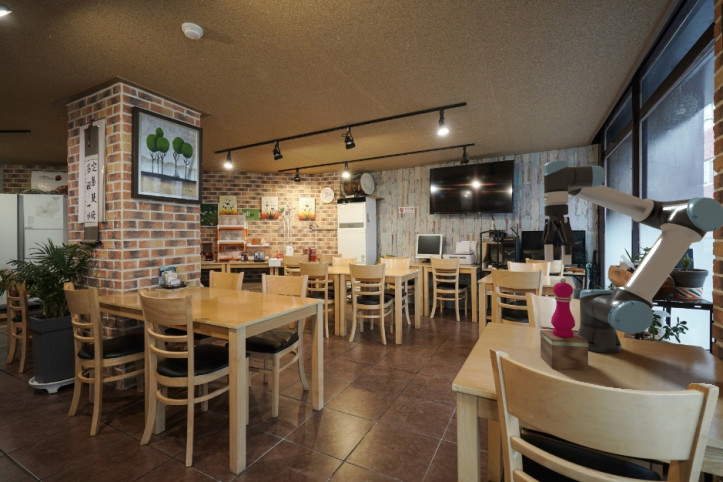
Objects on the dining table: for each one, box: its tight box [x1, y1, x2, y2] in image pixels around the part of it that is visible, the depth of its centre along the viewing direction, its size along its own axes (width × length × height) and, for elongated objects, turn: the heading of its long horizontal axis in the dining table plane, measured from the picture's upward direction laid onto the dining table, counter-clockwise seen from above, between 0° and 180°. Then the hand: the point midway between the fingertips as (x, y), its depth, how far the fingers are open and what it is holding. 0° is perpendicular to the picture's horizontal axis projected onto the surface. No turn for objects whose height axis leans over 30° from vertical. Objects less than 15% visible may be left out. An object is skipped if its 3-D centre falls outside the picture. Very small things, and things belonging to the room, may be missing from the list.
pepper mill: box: [550, 277, 576, 338], centre depth 116 cm, size 7×7×20 cm
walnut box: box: [539, 329, 589, 372], centre depth 116 cm, size 11×11×10 cm
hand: (557, 263), depth 120 cm, fingers open, 13 cm apart
